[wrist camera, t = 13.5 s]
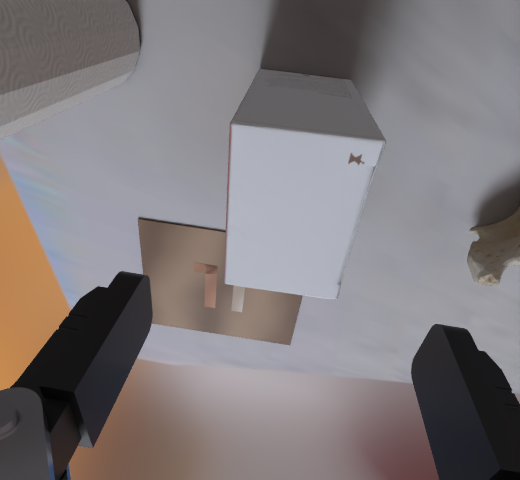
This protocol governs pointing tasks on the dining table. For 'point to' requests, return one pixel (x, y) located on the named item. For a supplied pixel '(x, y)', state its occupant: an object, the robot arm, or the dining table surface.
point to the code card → (208, 287)
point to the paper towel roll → (61, 56)
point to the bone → (495, 249)
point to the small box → (297, 182)
